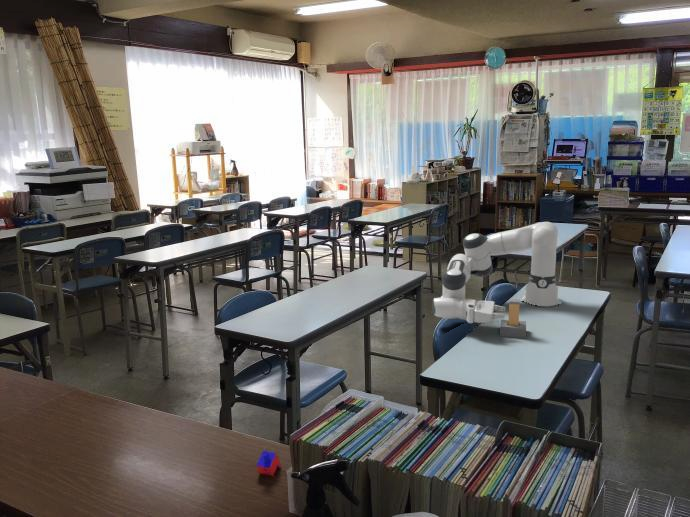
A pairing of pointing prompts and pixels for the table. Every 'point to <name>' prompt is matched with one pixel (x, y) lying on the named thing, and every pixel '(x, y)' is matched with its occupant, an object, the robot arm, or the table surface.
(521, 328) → the grey square block
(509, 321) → the plug
